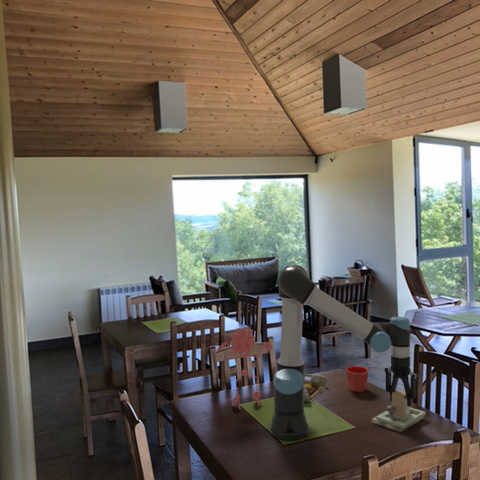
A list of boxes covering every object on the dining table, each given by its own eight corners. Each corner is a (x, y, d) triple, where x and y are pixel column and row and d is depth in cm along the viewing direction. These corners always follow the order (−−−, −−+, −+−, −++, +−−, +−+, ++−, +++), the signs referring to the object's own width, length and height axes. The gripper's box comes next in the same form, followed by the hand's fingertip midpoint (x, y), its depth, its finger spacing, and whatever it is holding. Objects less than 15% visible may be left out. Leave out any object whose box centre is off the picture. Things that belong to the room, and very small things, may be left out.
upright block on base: (375, 419, 199) (375, 394, 199) (398, 406, 211) (398, 383, 211) (403, 428, 190) (402, 402, 190) (425, 414, 203) (425, 390, 202)
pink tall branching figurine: (277, 403, 223) (274, 327, 222) (223, 413, 214) (219, 333, 213) (263, 393, 237) (261, 321, 236) (212, 402, 228) (209, 327, 227)
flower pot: (371, 387, 241) (371, 367, 240) (364, 394, 231) (364, 374, 231) (350, 384, 246) (350, 364, 246) (343, 390, 237) (342, 371, 236)
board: (371, 422, 201) (371, 405, 200) (395, 409, 213) (394, 394, 212) (400, 432, 191) (400, 414, 191) (423, 418, 203) (423, 402, 203)
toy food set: (294, 382, 253) (293, 367, 252) (328, 387, 244) (327, 372, 243) (272, 398, 231) (272, 382, 230) (308, 405, 222) (308, 388, 221)
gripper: (426, 357, 195) (426, 415, 197) (385, 349, 209) (386, 403, 210) (416, 362, 190) (417, 420, 192) (375, 353, 204) (376, 408, 205)
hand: (400, 411), depth 201 cm, fingers closed on upright block on base, 5 cm apart
